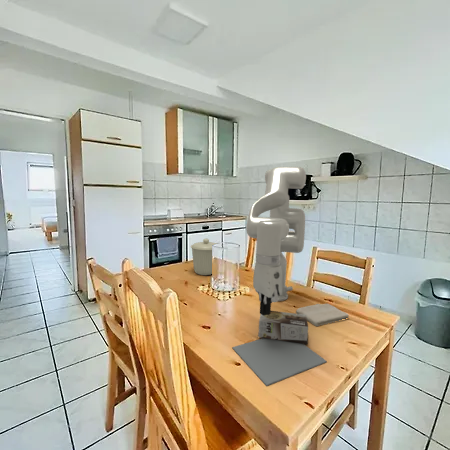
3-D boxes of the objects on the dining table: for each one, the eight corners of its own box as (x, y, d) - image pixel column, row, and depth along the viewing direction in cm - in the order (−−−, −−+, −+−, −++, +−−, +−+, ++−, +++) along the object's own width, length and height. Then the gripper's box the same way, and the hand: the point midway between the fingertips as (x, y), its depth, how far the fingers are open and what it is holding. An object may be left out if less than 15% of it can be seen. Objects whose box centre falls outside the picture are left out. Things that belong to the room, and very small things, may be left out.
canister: (226, 273, 159) (227, 239, 156) (204, 280, 146) (205, 242, 143) (206, 266, 171) (207, 234, 168) (184, 272, 158) (184, 238, 155)
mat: (286, 332, 93) (286, 331, 93) (326, 362, 77) (326, 361, 77) (232, 348, 83) (232, 347, 83) (266, 386, 67) (266, 384, 67)
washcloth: (350, 320, 105) (351, 312, 104) (316, 328, 97) (316, 320, 97) (327, 307, 116) (328, 301, 115) (295, 314, 108) (295, 307, 108)
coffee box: (258, 338, 88) (307, 345, 85) (258, 320, 88) (309, 326, 84) (260, 325, 97) (305, 331, 94) (261, 308, 97) (306, 314, 93)
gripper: (293, 264, 78) (289, 321, 81) (263, 252, 91) (261, 302, 94) (273, 266, 75) (269, 327, 77) (245, 254, 88) (243, 306, 90)
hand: (265, 313), depth 85 cm, fingers closed
